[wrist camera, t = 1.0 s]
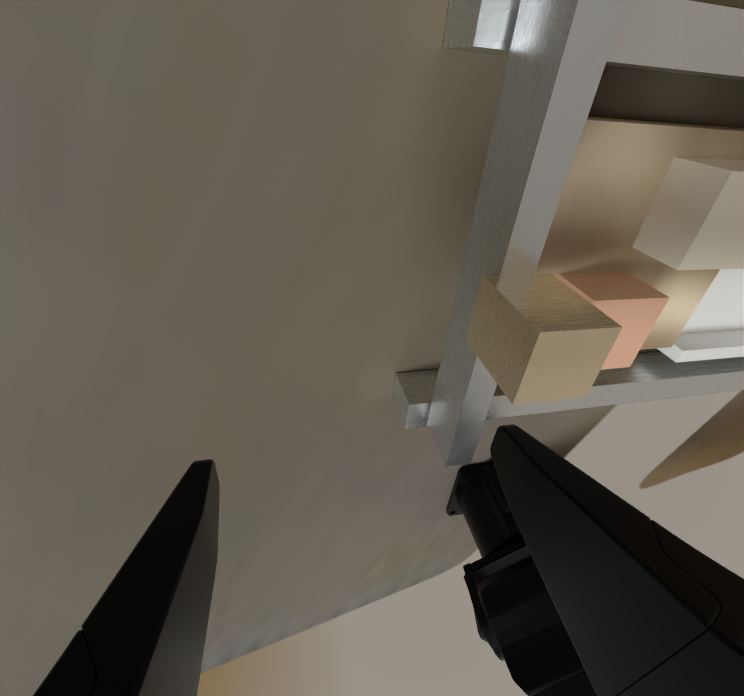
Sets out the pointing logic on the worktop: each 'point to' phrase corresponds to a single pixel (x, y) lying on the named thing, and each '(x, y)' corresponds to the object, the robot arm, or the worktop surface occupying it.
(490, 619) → the robot arm
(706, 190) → the beige block
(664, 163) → the board
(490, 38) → the rails
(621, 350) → the salmon pink block
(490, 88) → the worktop surface
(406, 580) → the worktop surface
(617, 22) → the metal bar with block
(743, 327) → the box
